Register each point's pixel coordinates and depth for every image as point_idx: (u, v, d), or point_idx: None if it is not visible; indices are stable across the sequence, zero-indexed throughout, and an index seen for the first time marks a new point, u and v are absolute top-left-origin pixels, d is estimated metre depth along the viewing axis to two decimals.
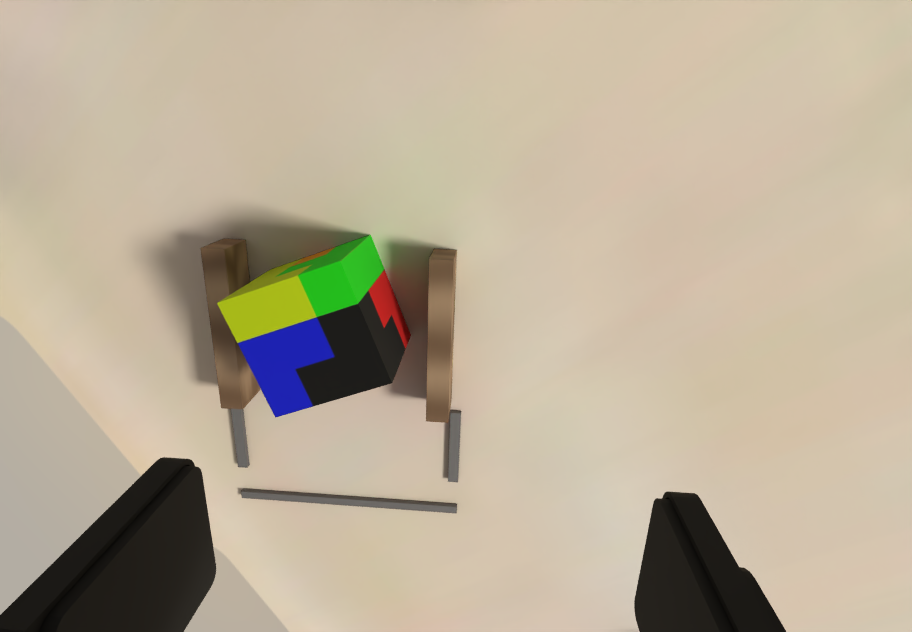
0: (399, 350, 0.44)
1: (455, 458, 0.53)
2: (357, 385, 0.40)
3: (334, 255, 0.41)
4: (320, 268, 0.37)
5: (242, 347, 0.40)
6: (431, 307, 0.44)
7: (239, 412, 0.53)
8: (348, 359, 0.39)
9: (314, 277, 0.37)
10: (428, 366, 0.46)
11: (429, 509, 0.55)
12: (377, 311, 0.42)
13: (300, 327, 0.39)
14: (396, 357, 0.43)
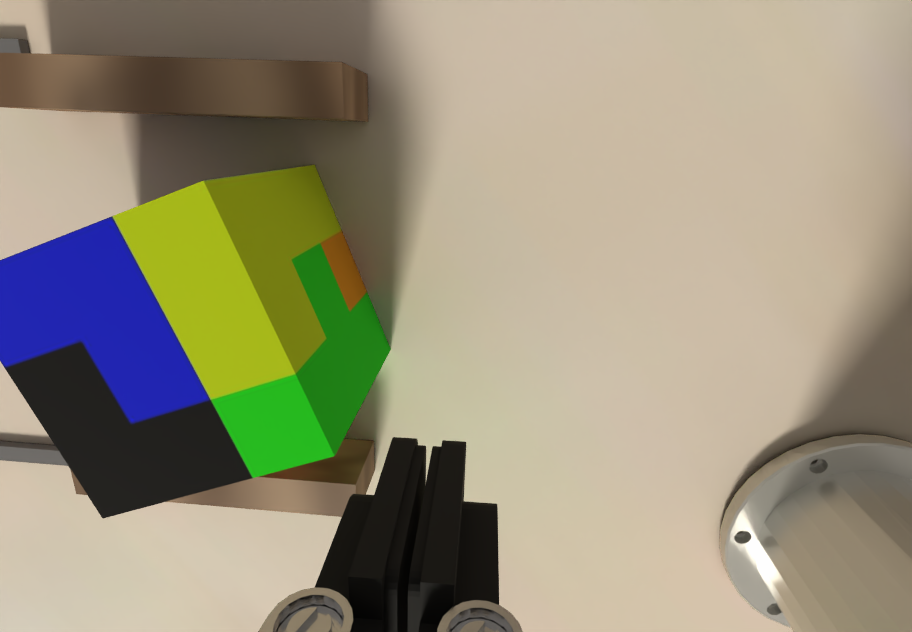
0: None
1: (26, 457, 0.32)
2: (79, 459, 0.19)
3: (347, 366, 0.22)
4: (315, 418, 0.18)
5: (103, 227, 0.16)
6: (275, 482, 0.26)
7: None
8: (131, 448, 0.19)
9: (295, 405, 0.18)
10: None
11: None
12: None
13: (181, 364, 0.18)
14: None
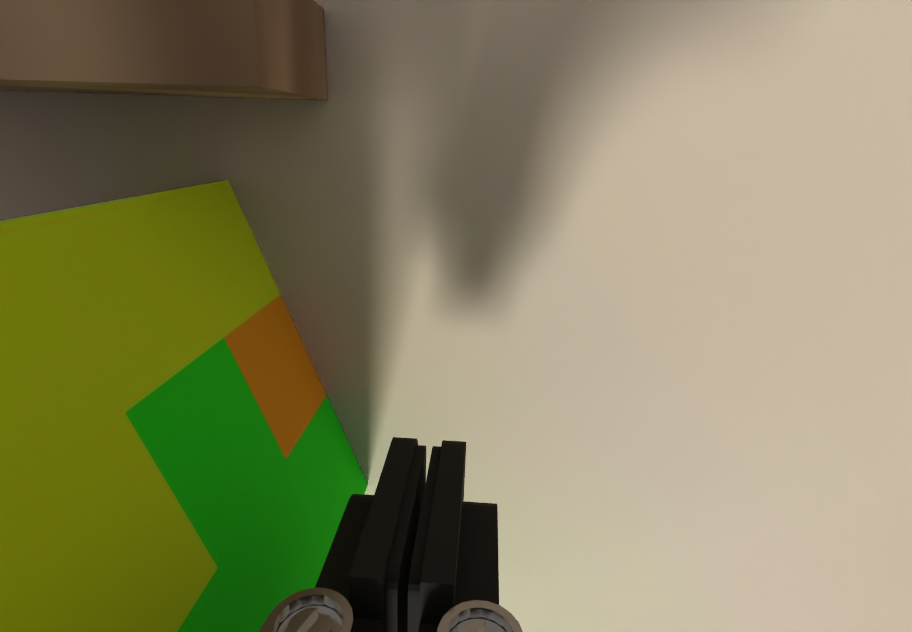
0: None
1: None
2: None
3: (272, 598, 0.11)
4: None
5: None
6: None
7: None
8: None
9: None
10: None
11: None
12: None
13: None
14: None
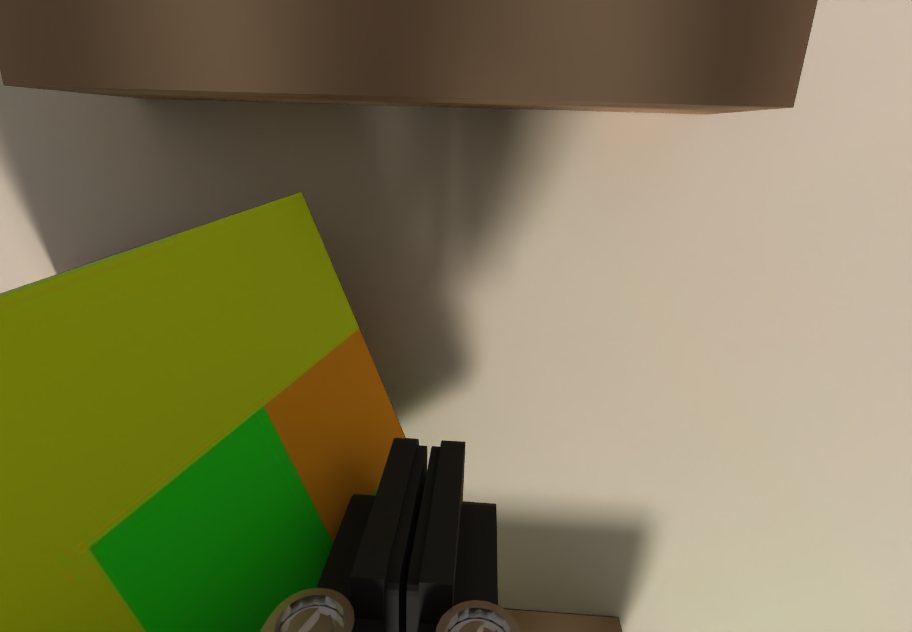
0: None
1: None
2: None
3: None
4: None
5: None
6: None
7: None
8: None
9: None
10: None
11: None
12: None
13: None
14: None
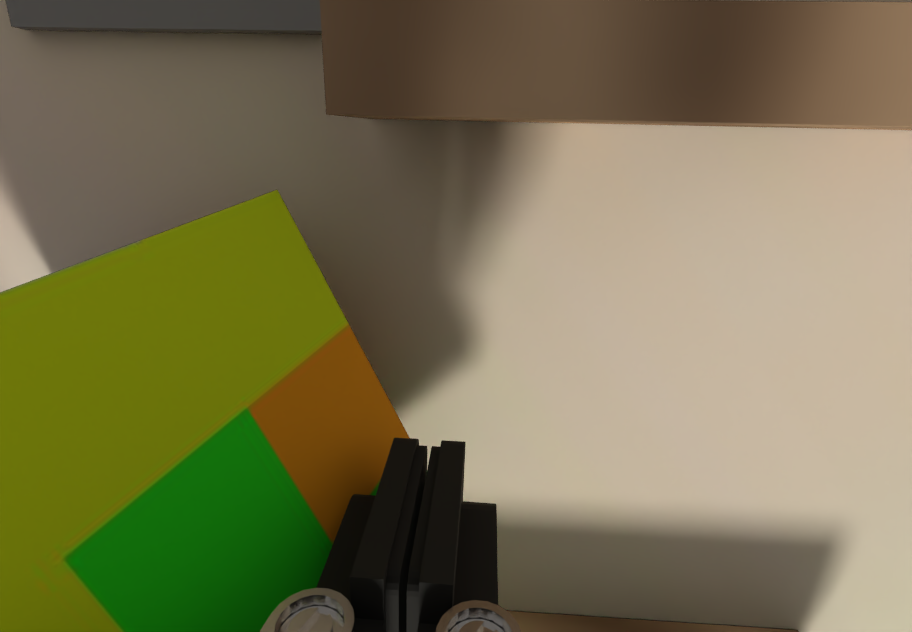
0: None
1: None
2: None
3: None
4: None
5: None
6: None
7: (263, 22, 0.13)
8: None
9: None
10: None
11: None
12: None
13: None
14: None
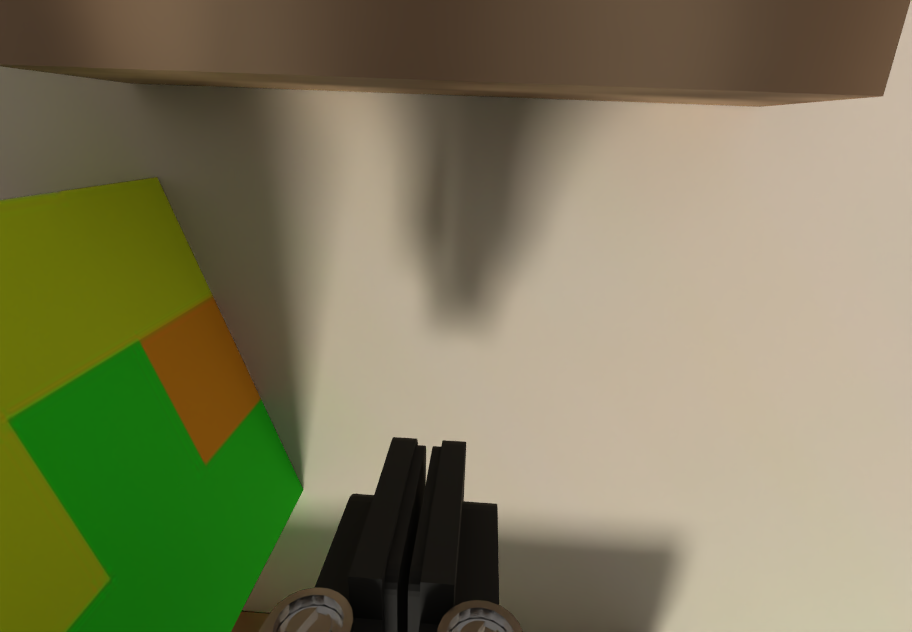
0: None
1: None
2: None
3: (175, 609, 0.11)
4: None
5: None
6: None
7: None
8: None
9: None
10: None
11: None
12: None
13: None
14: None
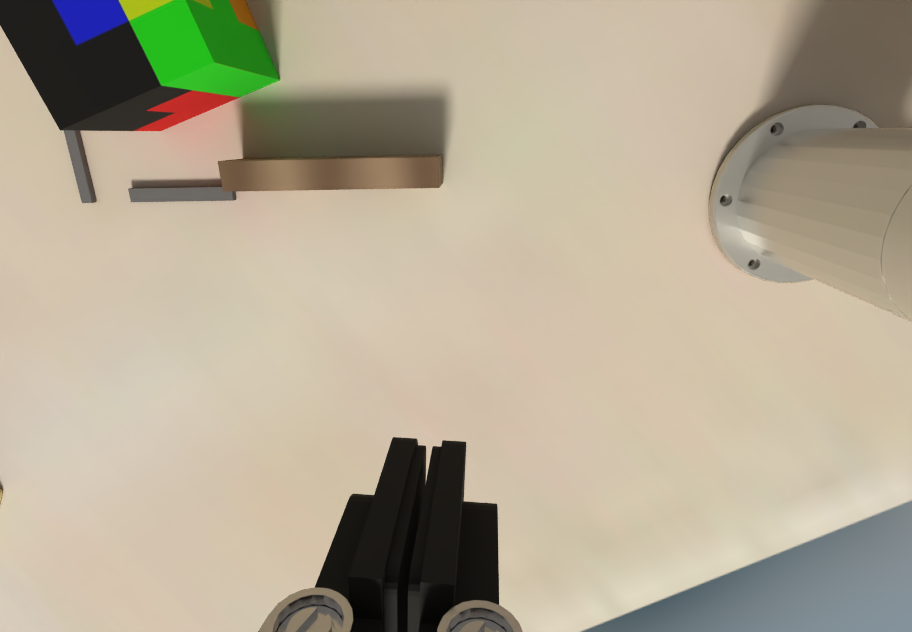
0: (125, 126, 0.34)
1: (166, 196, 0.40)
2: (42, 79, 0.29)
3: (232, 41, 0.31)
4: (199, 31, 0.28)
5: None
6: (377, 162, 0.35)
7: None
8: (77, 66, 0.28)
9: (185, 21, 0.28)
10: (297, 161, 0.35)
11: (75, 164, 0.39)
12: (167, 101, 0.32)
13: None
14: (110, 127, 0.33)
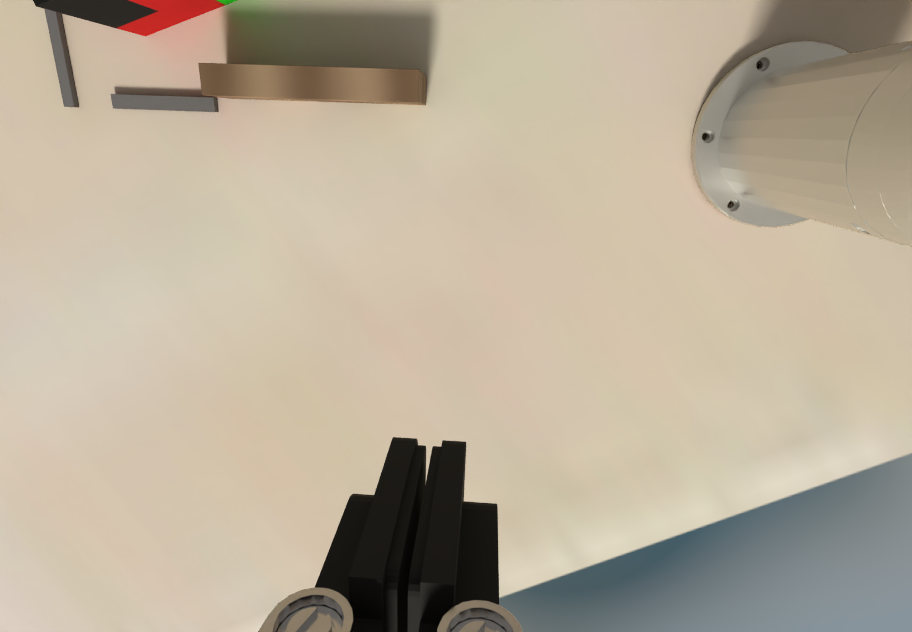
0: (106, 19, 0.34)
1: (148, 104, 0.40)
2: None
3: None
4: None
5: None
6: (357, 72, 0.35)
7: None
8: None
9: None
10: (277, 67, 0.35)
11: (59, 65, 0.39)
12: None
13: None
14: (90, 15, 0.33)
